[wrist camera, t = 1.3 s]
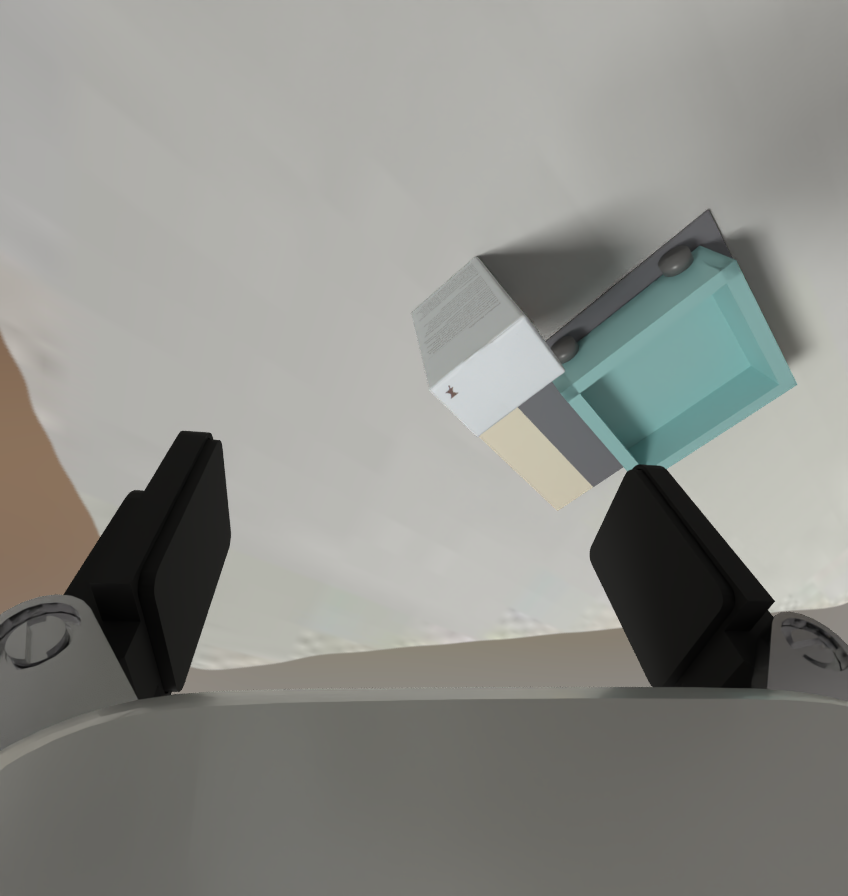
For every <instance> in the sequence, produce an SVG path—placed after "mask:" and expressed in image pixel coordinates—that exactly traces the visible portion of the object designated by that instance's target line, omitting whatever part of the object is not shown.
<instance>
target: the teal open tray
mask: <svg viewBox="0 0 848 896" xmlns="http://www.w3.org/2000/svg"><path fill="white" fill-rule="evenodd" d="M658 267H659V269H660V270H661V272H662V274H663V275H662V276H660V277H659V278H658V279H657V280H655V281H654V282H653V283H652V284H650V285H649V286H648V287H647V288H645V289H644V290H643V291H642V292H640V293H639V294H638V295H636V296H635V297H634V298H633V299H631V300H630V301H629V302H628V303H626V304H625V305H624V306H623V307H621V308H620V309H619V310H618V311H616V312H615V313H614V314H612V315H611V316H610V317H609V318H607V319H606V320H605V321H604V322H602V323H601V324H600V325H599V326H597V327H596V328H595V329H594V330H592V331H591V332H590V333H588V334H587V335H586V336H585V337H583V338H582V339H581V340H580V341H578V342H576V341H575V340H574V338H573V337H572V336H565V337H562V338H560V339H559V340H557V341H556V342H555V343H554V344H553V345H552V346H551V348H550V349H551V350H552V351H553V353H554V354H555V356H556V357H557V358H558V360H559V361H560V363H561V364H562V365H563V367H564V369H565V372H564V373H563V374H562V375H560V376H559V377H557V378H556V379H555V380H553V381H552V382H553V384H554V385H555V387H556V388H557V389H558V391H559V392H560V394H561V395H562V396H563V397H564V398H565V400H566V401H567V402H568V403H569V404H570V405H571V407H572V408H573V409H574V410H575V411H576V412H577V414H578V415H579V416H580V417H581V418H582V419H583V421H584V422H585V423H586V424H587V425H588V426H589V427H590V429H591V430H592V431H593V432H594V433H595V434H596V436H597V437H598V438H599V439H600V440H601V441H602V443H603V444H604V445H605V446H606V447H607V448H608V450H609V451H610V452H611V453H612V454H613V455H614V456H615V458H616V459H617V460H618V461H619V462H620V463H621V465H622V466H623V467H624V468H625V469H626V470H627V471H629V470H632V469H633V467H635V466H636V465H638V464H644V465H658V466H663V467H664V468H665V469H667V468H669V467H670V466H672V465H673V464H675V463H677V462H678V461H680V460H681V459H683V458H684V457H686V456H687V455H689V454H691V453H692V452H694V451H695V450H697V449H698V448H700V447H701V446H703V445H704V444H706V443H708V442H709V441H711V440H712V439H714V438H715V437H717V436H718V435H720V434H722V433H723V432H725V431H726V430H728V429H729V428H731V427H732V426H734V425H736V424H737V423H739V422H740V421H742V420H743V419H745V418H746V417H748V416H749V415H751V414H753V413H754V412H756V411H757V410H759V409H760V408H762V407H763V406H765V405H767V404H768V403H770V402H771V401H773V400H774V399H776V398H777V397H779V396H781V395H782V394H784V393H785V392H787V391H788V390H790V389H791V388H793V387H794V386H796V385H797V383H796V381H795V379H794V377H793V375H792V373H791V371H790V369H789V367H788V365H787V362H786V360H785V358H784V356H783V354H782V352H781V350H780V348H779V346H778V344H777V342H776V340H775V338H774V336H773V334H772V332H771V330H770V328H769V326H768V324H767V322H766V320H765V318H764V316H763V314H762V312H761V310H760V308H759V306H758V304H757V302H756V300H755V298H754V296H753V294H752V292H751V290H750V288H749V286H748V284H747V281H746V279H745V277H744V275H743V273H742V271H741V269H740V267H739V265H738V263H737V261H736V260H735V259H732V258H730V257H727V256H725V255H722V254H720V253H717V252H715V251H712V250H710V249H707V248H705V247H702V246H698V247H697V248H696V249H695V250H693V251H692V252H691V251H690V249H689V247H688V246H686V245H682V246H678V247H675V248H673V249H671V250H669V251H668V252H667V253H665V254H664V255H663V256H662V257H661V258H660V260H659V261H658Z"/></svg>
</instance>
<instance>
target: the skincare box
mask: <svg viewBox="0 0 848 896" xmlns="http://www.w3.org/2000/svg"><path fill="white" fill-rule="evenodd" d="M411 315H412V319H413V324H414V328H415V332H416V336H417V341H418V345H419V349H420V353H421V357H422V362H423V366H424V370H425V374H426V378H427V383H428V388H429V391H430V392H431V393H432V394H433V395H434V396H435V397H436V398H437V399H438V400H439V401H440V402H441V403H442V404H443V405H444V406H445V407H446V408H447V409H448V410H449V411H450V412H451V413H452V414H454V415H455V416H456V417H457V418H458V419H459V420H460V421H461V422H462V423H463V424H464V425H465V426H466V427H467V428H468V429H469V430H470V431H471V432H472V433H473V434H474V435H475V436H476V437H478V436H480V435H481V434H483V433H484V432H485V431H487V430H488V429H489V428H491V427H492V426H493V425H495V424H496V423H497V422H499V421H500V420H501V419H503V418H504V417H505V416H507V415H508V414H509V413H511V412H512V411H513V410H515V409H516V408H517V407H519V406H520V405H521V404H522V403H524V402H525V401H526V400H528V399H529V398H530V397H532V396H533V395H534V394H536V393H537V392H539V391H540V390H541V389H543V388H544V387H545V386H547V385H548V384H549V383H550V382H552V381H553V380H555V379H556V378H557V377H559V376H560V375H562V374H563V373H564V372H565V369H564V367H563V365H562V364H561V363H560V361H559V360H558V358H557V357H556V356H555V354H554V353H553V351H552V350H551V349H550V347H549V346H548V344H547V343H546V342H545V340H544V339H543V337H542V336H541V335H540V333H539V332H538V330H537V329H536V328H535V326H534V325H533V324H532V322H531V321H530V320H529V318H528V317H527V316H526V315H525V313H524V312H523V311H522V310H521V309H520V308H519V307H518V305H517V304H516V303H515V302H514V301H513V300H512V298H511V297H510V296H509V295H508V293H507V292H506V291H505V290H504V289H503V287H502V286H501V285H500V284H499V282H498V281H497V280H496V279H495V277H494V276H493V275H492V274H491V272H490V271H489V270H488V269H487V268H486V266H485V265H484V264H483V263H482V261H481V260H480V259H479V258H478V257H474V258H473V259H472V260H471V261H470V262H469V263H468V264H467V265H465V266H464V267H463V268H462V269H461V270H460V271H459V272H457V273H456V274H455V275H454V276H453V277H452V278H451V279H449V280H448V281H447V282H446V283H445V284H444V285H443V286H441V287H440V288H439V289H438V290H437V291H436V292H435V293H433V294H432V295H431V296H430V297H429V298H428V299H427V300H426V301H424V302H423V303H422V304H421V305H420V306H419V307H417V308H416V309H415V310H414V311H413V312H412V313H411Z"/></svg>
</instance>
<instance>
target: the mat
mask: <svg viewBox="0 0 848 896" xmlns="http://www.w3.org/2000/svg"><path fill="white" fill-rule="evenodd" d="M682 245H686V246H688V247H689V249H690V251H691V252H692V251H693V250H695V249H696V248H697V247H698V246H702V247H705V248H707V249H710V250H712V251H715V252H717V253H720V254H722V255H725V256H727V257H730V258H732V256H731V254H730V252H729V250H728V248H727V246H726V244H725V242H724V240H723V238H722V236H721V234H720V232H719V230H718V228H717V226H716V224H715V222H714V220H713V218H712V216H711V214H710V212H709V210H706V211H705V212H704V213H703V214H701V215H700V216H699V217H698V218H697V219H695V220H694V221H693V222H692V223H690V224H689V225H688V226H687V227H685V228H684V229H683V230H682V231H681V232H679V233H678V234H677V235H676V236H674V237H673V238H672V239H671V240H670V241H668V242H667V243H666V244H665V245H663V246H662V247H661V248H660V249H658V250H657V251H656V252H655V253H654V254H652V255H651V256H650V257H649V258H647V259H646V260H645V261H644V262H642V263H641V264H640V265H639V266H638V267H636V268H635V269H634V270H633V271H631V272H630V273H629V274H628V275H626V276H625V277H624V278H623V279H622V280H620V281H619V282H618V283H617V284H615V285H614V286H613V287H612V288H611V289H609V290H608V291H607V292H606V293H604V294H603V295H602V296H601V297H599V298H598V299H597V300H596V301H595V302H593V303H592V304H591V305H590V306H588V307H587V308H586V309H585V310H583V311H582V312H581V313H580V314H579V315H577V316H576V317H575V318H574V319H572V320H571V321H570V322H569V323H567V324H566V325H565V326H564V327H563V328H561V329H560V330H559V331H558V332H556V333H555V334H554V335H553V336H551V337H550V338H549V339H548V340H547V341H545V342H546V343H547V344H548V346H549V347H550V348H551V346H552V345H553V344H554V343H555V342H556V341H557V340H559V339H560V338H562V337H565V336H572V337H573V338H574V340H575V341H576V342H578V341H580V340H581V339H582V338H583V337H585V336H586V335H587V334H588V333H590V332H591V331H592V330H594V329H595V328H596V327H597V326H599V325H600V324H601V323H602V322H604V321H605V320H606V319H607V318H609V317H610V316H611V315H612V314H614V313H615V312H616V311H618V310H619V309H620V308H621V307H623V306H624V305H625V304H626V303H628V302H629V301H630V300H631V299H633V298H634V297H635V296H636V295H638V294H639V293H640V292H642V291H643V290H644V289H645V288H647V287H648V286H649V285H650V284H652V283H653V282H654V281H655V280H657V279H658V278H659V277H660V276H662V275H663V274H662V272H661V270H660V269H659V267H658V261H659V260H660V258H661V257H662V256H663V255H664V254H665V253H667V252H668V251H669V250H671V249H673V248H675V247H678V246H682ZM732 259H733V258H732ZM479 437H480V438H481V439H482V440H483V441H484V442H485V443H486V444H487V445H488V446H489V447H491V448H492V449H493V450H494V451H495V452H496V453H497V454H498V455H499V456H500V457H501V458H502V459H503V460H504V461H505V462H506V463H507V464H508V465H509V466H511V467H512V468H513V469H514V470H515V471H516V472H517V473H518V474H519V475H520V476H521V477H522V478H523V479H524V480H525V481H526V482H527V483H528V484H530V485H531V486H532V487H533V488H534V489H535V490H536V491H537V492H538V493H539V494H540V495H541V496H542V497H543V498H544V499H545V500H546V501H547V502H549V503H550V504H551V505H552V506H553V507H554V508H555V509H556V510H557V511H558V510H560V509H561V508H563V507H564V506H566V505H567V504H569V503H570V502H572V501H573V500H575V499H576V498H578V497H579V496H581V495H582V494H584V493H585V492H587V491H588V490H590V489H591V488H593V487H594V486H596V485H597V484H599V483H600V482H602V481H603V480H605V479H606V478H608V477H609V476H611V475H612V474H614V473H615V472H617V471H618V470H620V469H621V468H623V466H622V465H621V463H620V462H619V461H618V460H617V459H616V458H615V456H614V455H613V454H612V453H611V452H610V451H609V450H608V448H607V447H606V446H605V445H604V444H603V443H602V441H601V440H600V439H599V438H598V437H597V436H596V434H595V433H594V432H593V431H592V430H591V429H590V427H589V426H588V425H587V424H586V423H585V422H584V421H583V419H582V418H581V417H580V416H579V415H578V414H577V412H576V411H575V410H574V409H573V408H572V407H571V405H570V404H569V403H568V402H567V401H566V400H565V398H564V397H563V396H562V395H561V394H560V392H559V391H558V389H557V388H556V387H555V385H554V384H553V382H550V383H549V384H548V385H547V386H545V387H544V388H543V389H541V390H540V391H539V392H537V393H536V394H534V395H533V396H532V397H530V398H529V399H528V400H526V401H525V402H524V403H522V404H521V405H520V406H519V407H517V408H516V409H515V410H513V411H512V412H511V413H509V414H508V415H507V416H505V417H504V418H503V419H501V420H500V421H499V422H497V423H496V424H495V425H493V426H492V427H491V428H489V429H488V430H487V431H485V432H484V433H483V434H481V435H480V436H479Z"/></svg>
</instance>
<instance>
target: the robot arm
mask: <svg viewBox="0 0 848 896" xmlns="http://www.w3.org/2000/svg"><path fill="white" fill-rule="evenodd" d="M230 539H231V529H230V519H229V509H228V499H227V489H226V479H225V469H224V459H223V449H222V443H221V441H220V440H213V437H212V434H211V433H207V432H193V431H181V432H180V433H179V434H178V436H177V437H176V439H175V441H174V442H173V444H172V446H171V447H170V449H169V451H168V452H167V454H166V456H165V457H164V459H163V461H162V462H161V464H160V466H159V467H158V469H157V471H156V472H155V474H154V476H153V477H152V479H151V481H150V482H149V484H148V486H147V487H146V489H145V491H140V490H134V491H132V492H130V493H129V494H128V495H127V497H126V498H125V499H124V501H123V502H122V504H121V506H120V507H119V509H118V510H117V512H116V513H115V515H114V516H113V518H112V520H111V521H110V523H109V524H108V526H107V527H106V529H105V531H104V532H103V534H102V535H101V537H100V538H99V540H98V541H97V543H96V545H95V546H94V548H93V549H92V551H91V552H90V554H89V556H88V557H87V559H86V560H85V562H84V564H83V565H82V567H81V568H80V570H79V571H78V573H77V574H76V576H75V578H74V579H73V581H72V582H71V584H70V585H69V587H68V589H67V590H66V592H65V593H64V595H49V596H42V597H38V598H35V599H31V600H29V601H25V602H23V603H20V604H18V605H16V606H14V607H12V608H10V609H9V610H7V611H5V612H3V613H2V614H1V615H0V896H848V645H847V644H846V643H845V642H844V641H843V640H842V639H841V638H840V637H839V636H838V635H837V634H835V633H834V632H833V631H832V630H830V629H829V628H828V627H826V626H825V625H823V624H821V623H820V622H818V621H816V620H814V619H812V618H810V617H807V616H805V615H802V614H798V613H794V612H780V613H779V614H777V615H775V616H774V617H773V616H772V615H771V614H770V612H769V611H768V609H769V608H770V607H771V605H772V604H773V603H774V602H775V601H774V600H773V598H772V597H771V596H770V595H769V593H768V592H767V591H766V590H765V589H764V587H763V586H762V585H761V584H760V583H759V581H758V580H757V579H756V578H755V576H754V575H753V574H752V573H751V572H750V570H749V569H748V568H747V567H746V566H745V564H744V563H743V562H742V561H741V559H740V558H739V557H738V556H737V555H736V553H735V552H734V551H733V550H732V549H731V547H730V546H729V545H728V544H727V542H726V541H725V540H724V539H723V538H722V536H721V535H720V534H719V533H718V531H717V530H716V529H715V528H714V527H713V525H712V524H711V523H710V522H709V521H708V519H707V518H706V517H705V516H704V514H703V513H702V512H701V511H700V510H699V508H698V507H697V506H696V505H695V504H694V502H693V501H692V500H691V499H690V497H689V496H688V495H687V494H686V493H685V491H684V490H683V489H682V488H681V486H680V485H679V484H678V483H677V482H676V480H675V479H674V478H673V477H672V476H671V474H670V473H669V472H668V471H667V469H665V468H664V467H663V466H658V465H644V464H638V465H636V466H635V467H633V469H632V470H629V471H627V473H626V474H625V476H624V478H623V480H622V482H621V485H620V487H619V489H618V491H617V493H616V495H615V497H614V499H613V501H612V504H611V506H610V508H609V510H608V512H607V514H606V516H605V518H604V521H603V523H602V525H601V527H600V529H599V531H598V533H597V535H596V537H595V540H594V542H593V544H592V546H591V549H590V561H591V563H592V566H593V568H594V570H595V572H596V574H597V576H598V578H599V580H600V582H601V584H602V586H603V588H604V590H605V592H606V594H607V596H608V599H609V601H610V603H611V605H612V607H613V609H614V611H615V613H616V615H617V617H618V619H619V621H620V623H621V625H622V627H623V629H624V632H625V634H626V636H627V638H628V640H629V642H630V644H631V646H632V648H633V650H634V652H635V654H636V656H637V658H638V660H639V662H640V665H641V667H642V669H643V671H644V673H645V675H646V677H647V679H648V681H649V682H650V684H651V686H652V687H485V688H484V687H479V688H478V687H475V688H474V687H472V688H470V687H468V688H467V687H466V688H350V689H349V688H346V689H345V688H344V689H287V690H286V689H284V690H245V691H219V692H218V691H217V692H203V693H189V694H174V695H171V692H180V691H181V690H182V688H183V686H184V683H185V680H186V677H187V674H188V671H189V668H190V665H191V662H192V659H193V656H194V653H195V650H196V647H197V644H198V641H199V638H200V635H201V632H202V629H203V626H204V623H205V620H206V617H207V614H208V610H209V607H210V604H211V601H212V598H213V595H214V592H215V589H216V586H217V583H218V580H219V577H220V574H221V571H222V568H223V565H224V562H225V559H226V556H227V553H228V550H229V546H230Z"/></svg>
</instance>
